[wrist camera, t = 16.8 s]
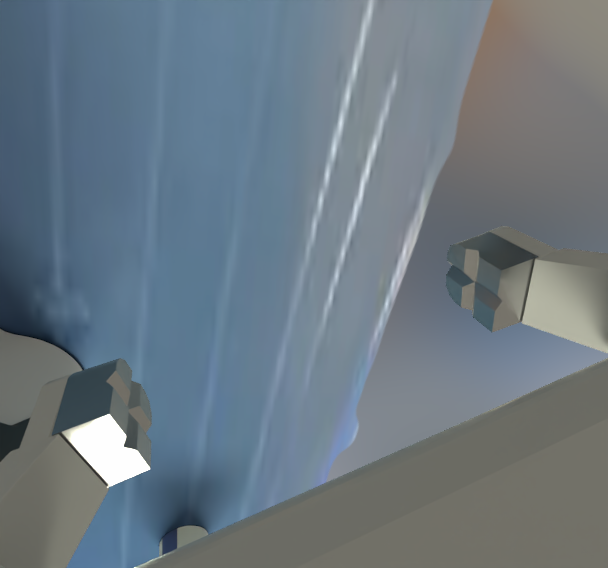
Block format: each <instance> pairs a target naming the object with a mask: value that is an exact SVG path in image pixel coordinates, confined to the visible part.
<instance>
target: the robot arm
mask: <svg viewBox="0 0 608 568" xmlns="http://www.w3.org/2000/svg"><path fill="white" fill-rule="evenodd" d="M447 261H448V262H449V263H450V264H451V265H452V266H451V268H450V270H449V271H448V273H447V274H446V286H447V289H448V292H449V295H450V296H451V298H452V299H453V300H454V302H455V303H457V304H458V305H459V306H460V307H462V308H466V309H470V310H472V313H473V318H475V319H476V320H477V321H478V322H480V323H481V324H482V325H483V326H485V327H486V328H487V329H489V330H490V331H491V332H494V331H497V330H500V329H503V328H505V327H508V326H511V325H514V324H516V323H519V322H522V323H523V324H526V325H529V326H532V327H535V328H537V329H540V330H543V331H546V332H548V333H551V334H554V335H557V336H560V337H563V338H565V339H568V340H571V341H574V342H577V343H580V344H582V345H585V346H588V347H591V348H594V349H597V350H599V351H602V352H605V353H608V254H606V253H599V252H590V251H582V250H573V249H566V248H563V249H561V250H557V249H555V248H553V247H551V246H548V245H547V244H544V243H542V242H540V241H538V240H536V239H534V238H532V237H530V236H527V235H525V234H523V233H521V232H519V231H517V230H514V229H512V228H510V227H503V226H501V227H499V228H496V229H494V230H491V231H488V232H486V233H484V234H482V235H479V236H476V237H473V238H470V239H468V240H465V241H462V242H459V243H456V244H453V245H450V248H449V250H448V254H447ZM131 378H132V370H131V368H130V367H129V365H128V364H127V362H126V361H125V360H123V359H121V358H119V359H116V360H113V361H110V362H107V363H104V364H101V365H98V366H95V367H91V368H88V369H85V370H82V368H81V367H80V366H79V364H78V363H77V362H76V361H75V360H74V359H73V358H72V357H71V356H70V355H69V354H67V353H66V352H64V351H63V350H61V349H60V348H58V347H56V346H54V345H52V344H50V343H47V342H45V341H42V340H39V339H35V338H31V337H26V336H21V335H15V334H11V333H8V332H5V331H3V330H1V329H0V568H66V567H67V565H68V563H69V561H70V559H71V558H72V556H73V554H74V552H75V550H76V548H77V547H78V545H79V543H80V541H81V539H82V537H83V536H84V534H85V532H86V530H87V528H88V527H89V525H90V523H91V521H92V519H93V517H94V516H95V514H96V512H97V510H98V508H99V506H100V505H101V503H102V501H103V499H104V497H105V496H106V494H107V492H108V490H109V488H108V487H109V486H112V485H114V484H116V483H119V482H121V481H123V480H126V479H128V478H130V477H133V476H135V475H137V474H139V473H142V472H144V471H146V470H149V469H150V464H151V440H150V439H149V438H148V436H147V435H146V432H147V430H148V429H149V427H150V426H151V424H152V413H151V408H150V403H149V400H148V397H147V395H146V392H145V391H144V389H143V387H142V386H141V384H139V383H136V382H133V381H131ZM134 568H608V358H607V359H604V360H602V361H600V362H598V363H595V364H593V365H591V366H589V367H586V368H584V369H582V370H580V371H577V372H575V373H573V374H571V375H568V376H566V377H564V378H562V379H559V380H557V381H555V382H553V383H550V384H548V385H546V386H544V387H541V388H539V389H537V390H535V391H532V392H530V393H528V394H526V395H523V396H521V397H519V398H517V399H514V400H512V401H510V402H508V403H505V404H503V405H501V406H499V407H496V408H494V409H492V410H490V411H487V412H485V413H483V414H481V415H478V416H476V417H474V418H472V419H469V420H467V421H465V422H463V423H460V424H458V425H456V426H453V427H451V428H449V429H447V430H444V431H443V432H440V433H438V434H436V435H433V436H431V437H429V438H426V439H424V440H422V441H420V442H417V443H415V444H413V445H411V446H408V447H406V448H404V449H401V450H399V451H397V452H395V453H392V454H390V455H388V456H386V457H384V458H381V459H379V460H377V461H374V462H372V463H370V464H368V465H365V466H363V467H361V468H358V469H356V470H354V471H352V472H349V473H347V474H345V475H343V476H340V477H338V478H336V479H333V480H331V481H329V482H327V483H324V484H322V485H320V486H318V487H315V488H313V489H311V490H309V491H306V492H304V493H302V494H299V495H297V496H295V497H293V498H290V499H288V500H286V501H284V502H281V503H279V504H277V505H275V506H272V507H270V508H268V509H266V510H263V511H261V512H259V513H257V514H254V515H252V516H250V517H247V518H245V519H243V520H241V521H238V522H236V523H234V524H232V525H229V526H227V527H225V528H223V529H220V530H218V531H216V532H214V533H211V534H209V535H207V536H205V537H202V538H200V539H198V540H195V541H193V542H191V543H189V544H186V545H184V546H182V547H180V548H177V549H175V550H173V551H171V552H168V553H166V554H164V555H162V556H159V557H157V558H155V559H153V560H150V561H148V562H146V563H144V564H141V565H139V566H137V567H134Z"/></svg>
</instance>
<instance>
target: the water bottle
mask: <svg viewBox="0 0 608 568" xmlns="http://www.w3.org/2000/svg"><path fill="white" fill-rule="evenodd" d="M207 535H208V533H207V531H206V530H205V529H204V528H202V527H199V526H183V527H179V528H177V529H174V530H172V531H170V532H169V533H167V534H166V535H165V536H164V537H163V538H162V540H161V541H160V545H159V556H162V555H164V554H166V553H168V552H171V551H173V550H175V549H177V548H180V547H182V546H184V545H186V544H189V543H191V542H193V541H195V540H198V539H200V538H202V537H205V536H207Z"/></svg>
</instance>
